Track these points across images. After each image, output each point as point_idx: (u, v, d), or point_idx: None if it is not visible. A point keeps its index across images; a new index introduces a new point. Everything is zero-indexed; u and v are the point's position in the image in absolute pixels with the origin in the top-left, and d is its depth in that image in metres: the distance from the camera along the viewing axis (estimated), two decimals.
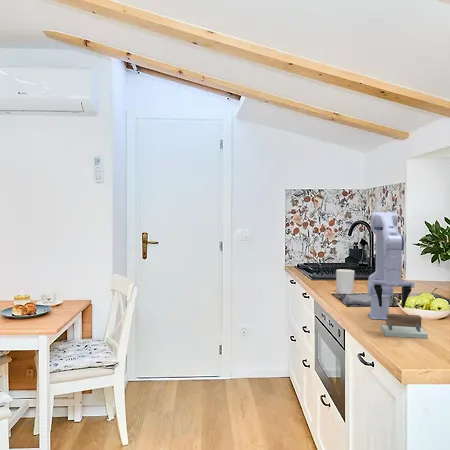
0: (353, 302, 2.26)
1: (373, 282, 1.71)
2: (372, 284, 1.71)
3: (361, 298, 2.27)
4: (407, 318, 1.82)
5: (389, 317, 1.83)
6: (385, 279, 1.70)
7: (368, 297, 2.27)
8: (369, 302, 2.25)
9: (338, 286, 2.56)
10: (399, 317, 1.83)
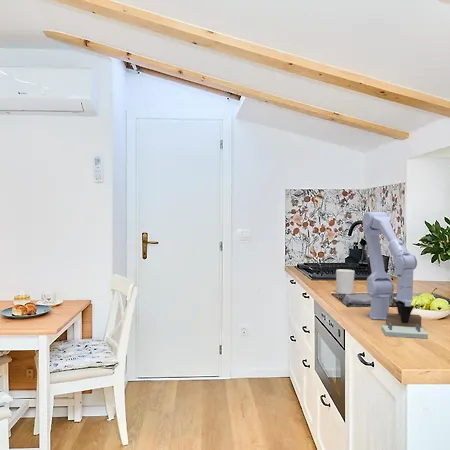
0: (353, 302, 2.27)
1: None
2: None
3: (360, 298, 2.28)
4: None
5: (389, 316, 1.83)
6: None
7: (367, 297, 2.28)
8: (368, 302, 2.26)
9: (338, 286, 2.56)
10: (399, 316, 1.83)
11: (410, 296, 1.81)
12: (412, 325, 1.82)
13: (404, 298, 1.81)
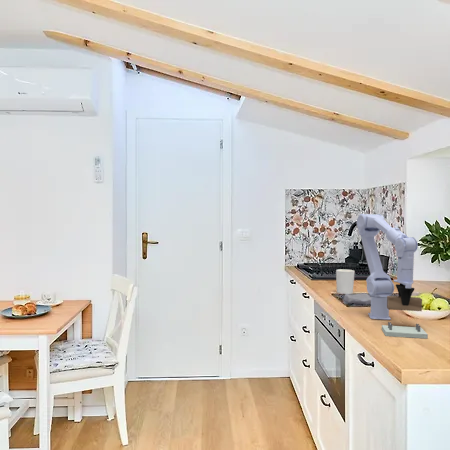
0: (352, 301, 2.27)
1: None
2: None
3: (360, 297, 2.29)
4: None
5: (389, 299, 1.83)
6: None
7: (367, 296, 2.29)
8: (368, 301, 2.27)
9: (338, 286, 2.56)
10: (400, 299, 1.82)
11: (411, 278, 1.81)
12: (413, 307, 1.82)
13: (405, 280, 1.81)
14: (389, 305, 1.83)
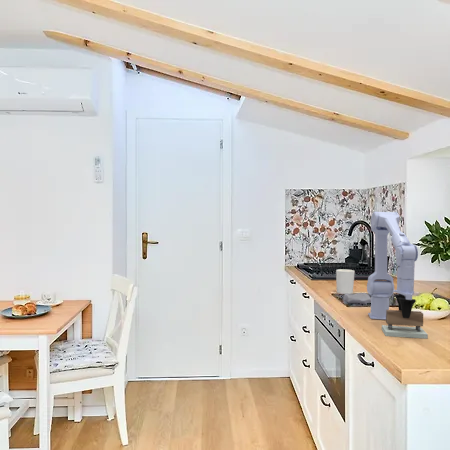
0: (352, 301, 2.28)
1: None
2: None
3: (359, 297, 2.30)
4: None
5: (389, 313, 1.72)
6: None
7: (366, 296, 2.30)
8: (367, 301, 2.28)
9: (338, 286, 2.56)
10: (399, 313, 1.72)
11: (411, 289, 1.70)
12: (413, 322, 1.71)
13: (405, 291, 1.70)
14: (388, 320, 1.72)
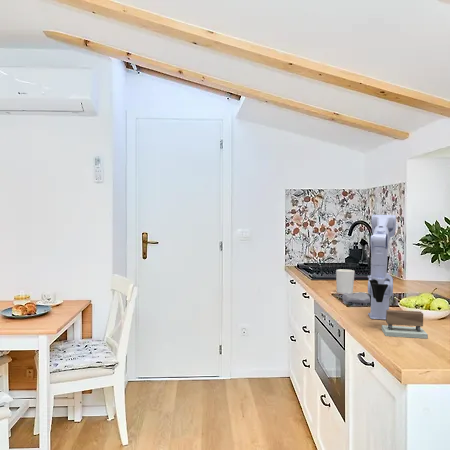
0: (351, 300, 2.30)
1: None
2: None
3: (358, 296, 2.31)
4: (408, 314, 1.71)
5: (389, 313, 1.72)
6: None
7: (365, 295, 2.32)
8: (366, 300, 2.29)
9: (338, 286, 2.56)
10: (399, 313, 1.72)
11: (384, 274, 1.81)
12: (413, 322, 1.71)
13: (378, 276, 1.81)
14: (388, 320, 1.72)
